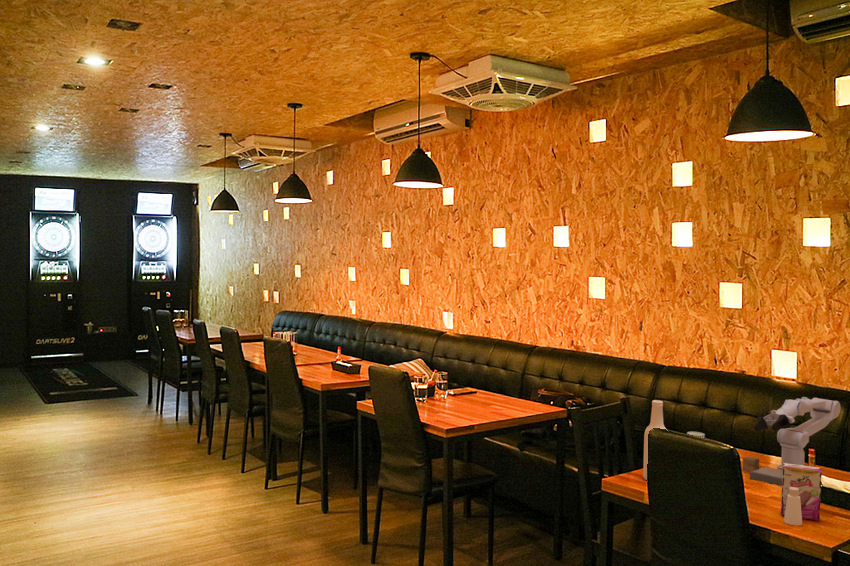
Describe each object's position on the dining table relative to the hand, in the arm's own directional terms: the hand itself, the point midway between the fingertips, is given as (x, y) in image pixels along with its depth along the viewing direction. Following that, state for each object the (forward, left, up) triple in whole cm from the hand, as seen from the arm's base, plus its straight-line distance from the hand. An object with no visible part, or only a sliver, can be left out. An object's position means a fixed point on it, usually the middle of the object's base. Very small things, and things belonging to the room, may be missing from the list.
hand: (764, 428), depth 273 cm
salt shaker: (+46, +29, -19) cm, 57 cm away
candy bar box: (+38, +28, -19) cm, 51 cm away
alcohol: (+40, -23, -19) cm, 49 cm away
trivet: (+2, +4, -19) cm, 19 cm away
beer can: (+20, -18, -19) cm, 33 cm away
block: (-4, -7, -19) cm, 20 cm away
